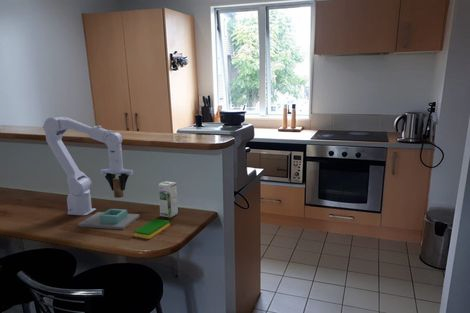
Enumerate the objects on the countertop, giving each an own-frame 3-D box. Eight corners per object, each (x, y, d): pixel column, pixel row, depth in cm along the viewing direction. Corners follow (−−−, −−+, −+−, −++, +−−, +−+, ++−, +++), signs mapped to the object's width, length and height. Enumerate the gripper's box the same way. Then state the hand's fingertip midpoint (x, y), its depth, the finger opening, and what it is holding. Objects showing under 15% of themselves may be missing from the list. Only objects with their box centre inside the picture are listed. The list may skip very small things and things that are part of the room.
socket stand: (78, 226, 140) (77, 217, 139) (98, 214, 153) (97, 205, 153) (123, 229, 136) (122, 219, 135) (139, 216, 149) (138, 207, 149)
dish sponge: (133, 237, 130) (133, 231, 129) (155, 223, 142) (155, 218, 142) (149, 240, 127) (149, 233, 127) (170, 226, 140) (169, 220, 139)
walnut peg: (112, 197, 152) (110, 180, 151) (117, 194, 156) (115, 177, 154) (120, 197, 151) (119, 180, 150) (125, 195, 155) (123, 177, 154)
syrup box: (159, 216, 150) (157, 183, 147) (168, 211, 155) (166, 180, 152) (170, 218, 147) (168, 185, 144) (178, 213, 152) (176, 181, 149)
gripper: (95, 161, 148) (98, 192, 151) (126, 162, 145) (129, 193, 148) (104, 158, 155) (107, 187, 157) (134, 159, 152) (136, 188, 155)
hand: (118, 189), depth 153 cm, fingers closed on walnut peg, 4 cm apart
